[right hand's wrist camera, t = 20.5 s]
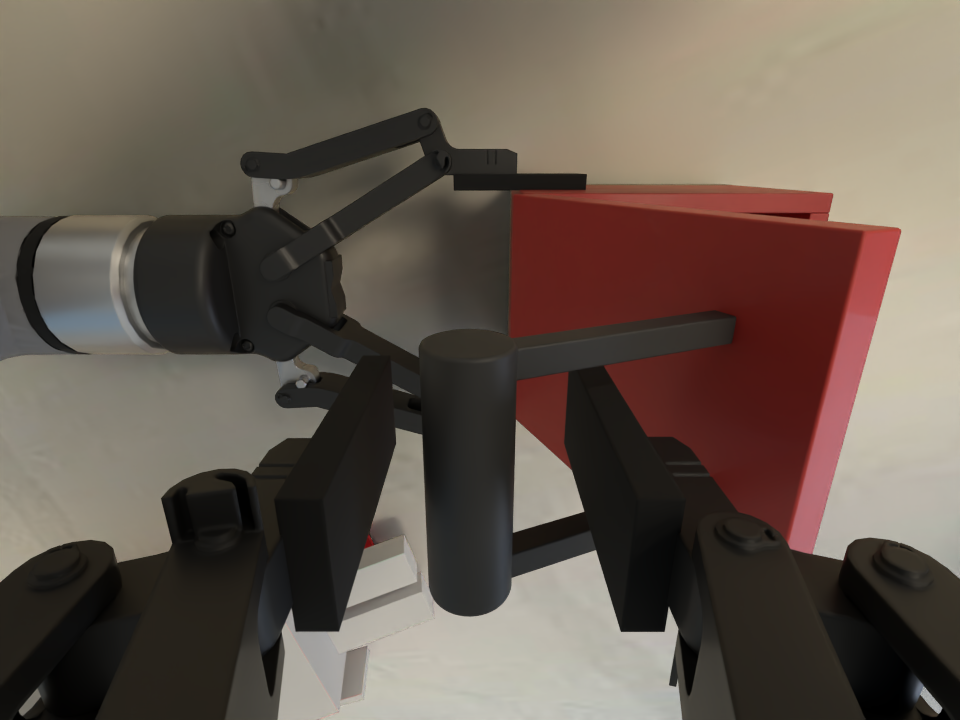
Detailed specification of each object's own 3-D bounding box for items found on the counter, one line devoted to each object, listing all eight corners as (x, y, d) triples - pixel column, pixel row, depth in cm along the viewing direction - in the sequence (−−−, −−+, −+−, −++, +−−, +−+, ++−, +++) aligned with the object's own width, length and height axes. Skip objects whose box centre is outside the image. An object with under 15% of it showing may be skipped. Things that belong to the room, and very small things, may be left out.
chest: (724, 184, 33) (834, 193, 23) (700, 337, 37) (786, 405, 26) (510, 184, 33) (523, 192, 23) (507, 337, 37) (517, 405, 26)
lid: (904, 228, 10) (478, 258, 7) (793, 628, 14) (478, 779, 10) (537, 193, 22) (322, 198, 19) (529, 408, 26) (346, 444, 23)
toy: (451, 699, 35) (25, 861, 35) (439, 566, 48) (127, 682, 47) (385, 562, 31) (-99, 742, 31) (391, 457, 44) (49, 581, 43)
